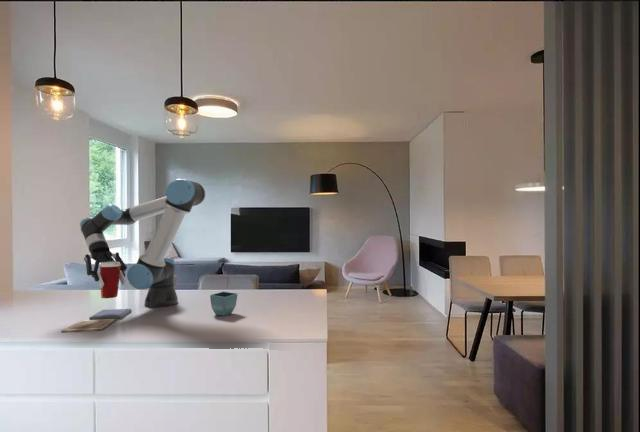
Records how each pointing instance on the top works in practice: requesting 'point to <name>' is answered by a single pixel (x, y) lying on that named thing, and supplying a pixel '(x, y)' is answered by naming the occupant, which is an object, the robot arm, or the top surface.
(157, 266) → the robot arm
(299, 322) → the top surface
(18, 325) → the top surface
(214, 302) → the flower pot
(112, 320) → the wooden square board
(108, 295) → the coffee cup
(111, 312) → the pad
